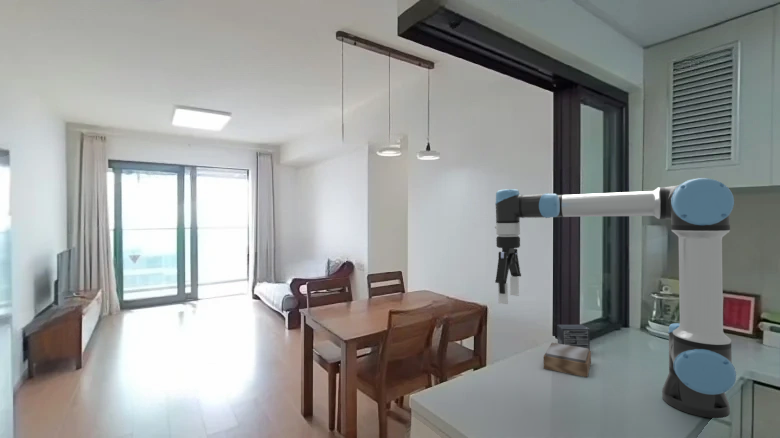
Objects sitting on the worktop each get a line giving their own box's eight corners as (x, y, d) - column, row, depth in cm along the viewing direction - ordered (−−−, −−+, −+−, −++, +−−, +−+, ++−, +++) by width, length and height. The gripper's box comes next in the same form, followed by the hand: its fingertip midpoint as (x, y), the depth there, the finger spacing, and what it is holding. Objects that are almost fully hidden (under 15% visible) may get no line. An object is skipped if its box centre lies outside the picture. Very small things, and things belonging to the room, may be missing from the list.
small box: (583, 349, 151) (583, 323, 151) (590, 355, 144) (590, 328, 144) (557, 348, 152) (556, 323, 152) (562, 354, 146) (562, 328, 145)
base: (591, 363, 137) (590, 348, 137) (587, 377, 125) (587, 361, 125) (550, 355, 145) (550, 341, 145) (543, 368, 133) (543, 353, 133)
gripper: (507, 233, 135) (508, 291, 135) (484, 237, 114) (485, 305, 114) (528, 233, 130) (529, 293, 131) (508, 238, 110) (510, 308, 110)
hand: (509, 299), depth 122 cm, fingers open, 13 cm apart
